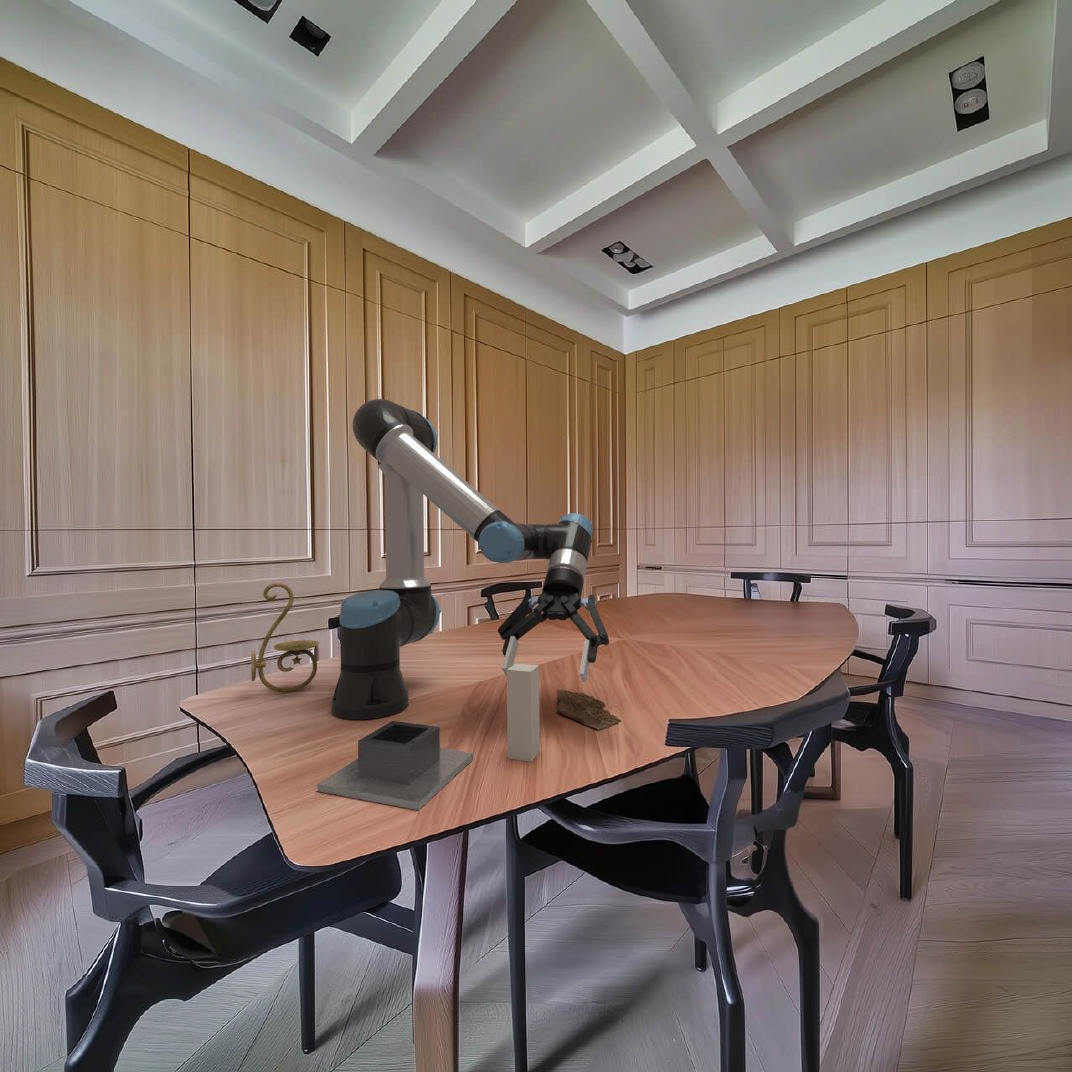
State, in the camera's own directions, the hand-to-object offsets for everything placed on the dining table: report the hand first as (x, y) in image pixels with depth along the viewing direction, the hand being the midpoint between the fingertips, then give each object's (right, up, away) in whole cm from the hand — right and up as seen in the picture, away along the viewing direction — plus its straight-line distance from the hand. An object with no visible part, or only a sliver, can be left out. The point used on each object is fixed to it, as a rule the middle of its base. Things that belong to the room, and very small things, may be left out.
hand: (543, 675), depth 87 cm
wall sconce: (-58, -12, +30) cm, 67 cm away
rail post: (-3, -12, -4) cm, 13 cm away
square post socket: (-21, -12, -11) cm, 27 cm away
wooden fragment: (+8, -12, +18) cm, 23 cm away
